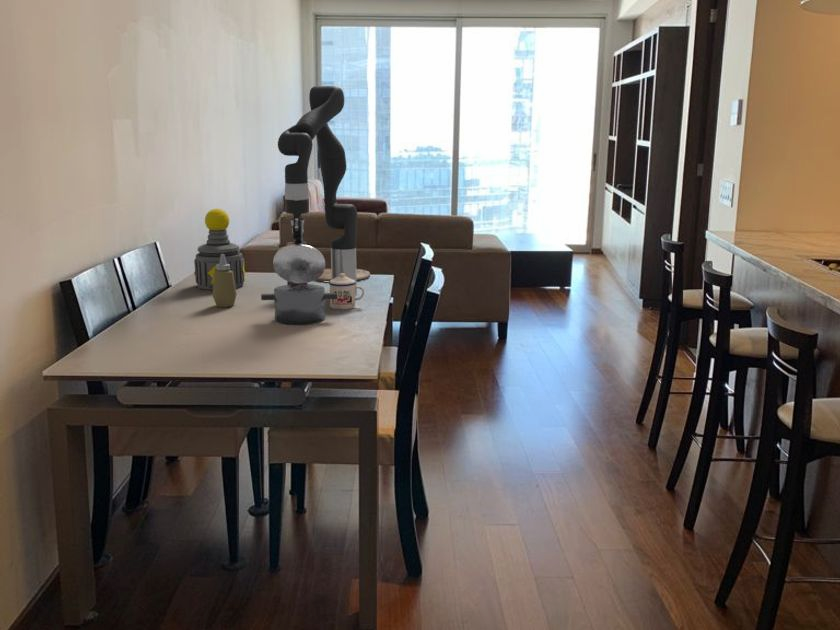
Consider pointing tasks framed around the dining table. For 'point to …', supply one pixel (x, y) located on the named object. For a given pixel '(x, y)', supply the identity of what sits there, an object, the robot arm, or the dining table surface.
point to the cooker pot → (299, 303)
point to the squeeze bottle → (224, 284)
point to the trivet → (360, 273)
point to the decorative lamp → (217, 252)
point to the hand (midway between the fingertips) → (298, 252)
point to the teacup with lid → (344, 292)
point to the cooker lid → (299, 263)
